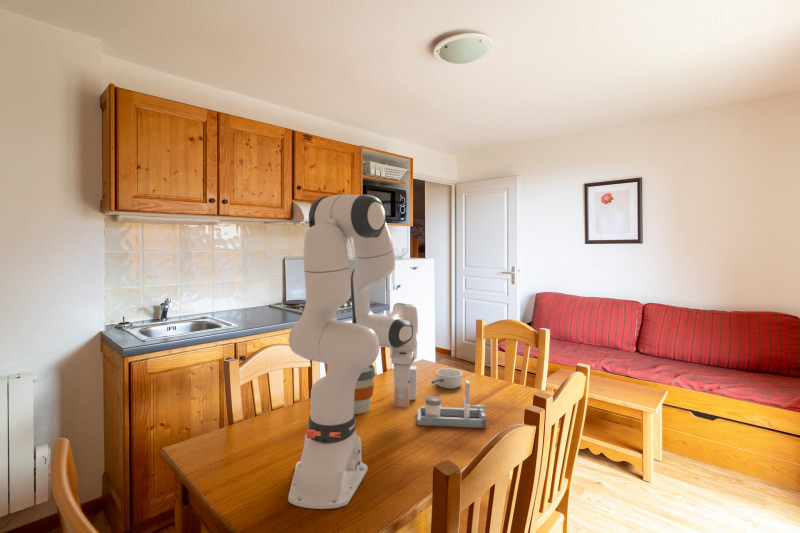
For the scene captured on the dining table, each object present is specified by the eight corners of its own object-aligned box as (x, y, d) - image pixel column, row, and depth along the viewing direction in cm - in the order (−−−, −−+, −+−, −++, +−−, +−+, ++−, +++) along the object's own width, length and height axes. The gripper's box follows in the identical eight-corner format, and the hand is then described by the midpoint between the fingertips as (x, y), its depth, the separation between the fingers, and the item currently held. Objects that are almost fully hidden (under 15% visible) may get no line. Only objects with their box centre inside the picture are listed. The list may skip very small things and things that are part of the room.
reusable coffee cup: (357, 419, 129) (358, 375, 128) (332, 409, 136) (332, 368, 135) (381, 407, 139) (382, 366, 138) (356, 398, 146) (357, 360, 145)
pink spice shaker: (409, 407, 123) (410, 381, 122) (393, 406, 123) (394, 380, 123) (409, 401, 128) (410, 376, 128) (394, 400, 128) (395, 375, 128)
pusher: (487, 425, 126) (488, 385, 125) (465, 423, 126) (466, 384, 126) (484, 417, 132) (485, 379, 131) (463, 416, 132) (464, 378, 131)
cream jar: (441, 423, 127) (441, 402, 127) (424, 422, 127) (425, 402, 127) (440, 416, 132) (440, 396, 132) (424, 415, 133) (425, 395, 132)
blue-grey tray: (485, 427, 124) (485, 415, 124) (417, 424, 126) (417, 412, 125) (481, 416, 133) (481, 404, 133) (417, 413, 135) (417, 401, 134)
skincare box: (416, 396, 150) (417, 366, 150) (415, 400, 146) (416, 369, 145) (401, 395, 151) (401, 365, 150) (400, 399, 146) (400, 368, 146)
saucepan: (419, 392, 154) (420, 378, 154) (443, 378, 171) (443, 366, 171) (445, 399, 148) (445, 384, 148) (466, 384, 164) (467, 371, 164)
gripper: (396, 344, 136) (394, 383, 136) (391, 359, 115) (389, 405, 115) (413, 345, 135) (412, 384, 135) (412, 360, 115) (410, 406, 115)
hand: (401, 394), depth 125 cm, fingers closed on pink spice shaker, 5 cm apart
